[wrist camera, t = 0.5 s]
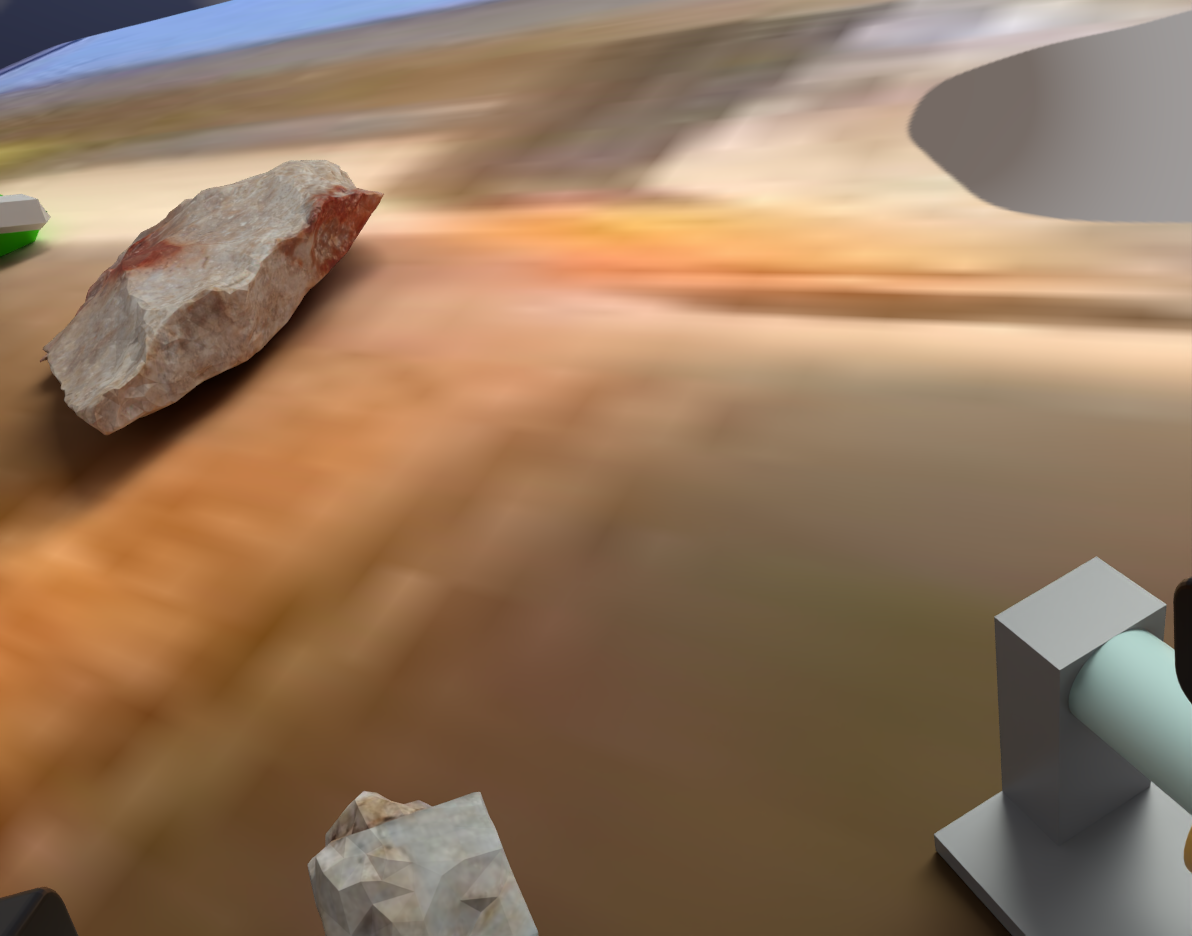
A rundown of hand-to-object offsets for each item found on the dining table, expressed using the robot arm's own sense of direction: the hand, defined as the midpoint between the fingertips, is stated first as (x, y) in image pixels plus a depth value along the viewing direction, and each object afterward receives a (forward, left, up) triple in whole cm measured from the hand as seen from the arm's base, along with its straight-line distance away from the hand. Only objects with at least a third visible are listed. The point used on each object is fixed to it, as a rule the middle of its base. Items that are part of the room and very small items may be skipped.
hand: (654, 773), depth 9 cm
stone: (+47, +3, -15) cm, 49 cm away
